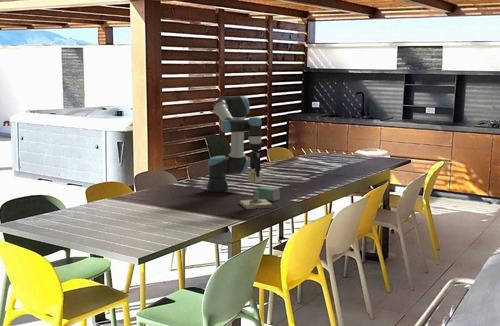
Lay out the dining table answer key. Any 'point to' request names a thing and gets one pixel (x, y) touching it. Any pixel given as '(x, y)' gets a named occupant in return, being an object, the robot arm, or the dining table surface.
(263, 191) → the box
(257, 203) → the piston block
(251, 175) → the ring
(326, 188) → the dining table surface
